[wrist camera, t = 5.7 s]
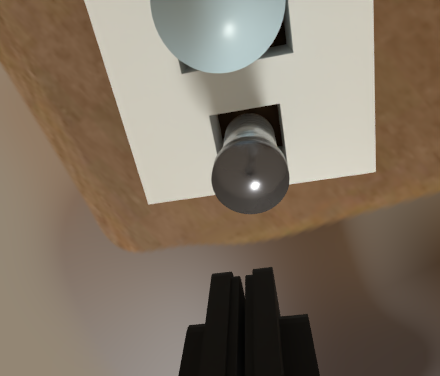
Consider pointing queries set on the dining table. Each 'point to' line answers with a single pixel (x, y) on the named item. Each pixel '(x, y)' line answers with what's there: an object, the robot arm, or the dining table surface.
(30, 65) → the dining table surface
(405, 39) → the dining table surface
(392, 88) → the dining table surface
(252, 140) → the dark capped shaker
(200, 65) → the cylinder
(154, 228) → the dining table surface
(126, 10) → the housing
